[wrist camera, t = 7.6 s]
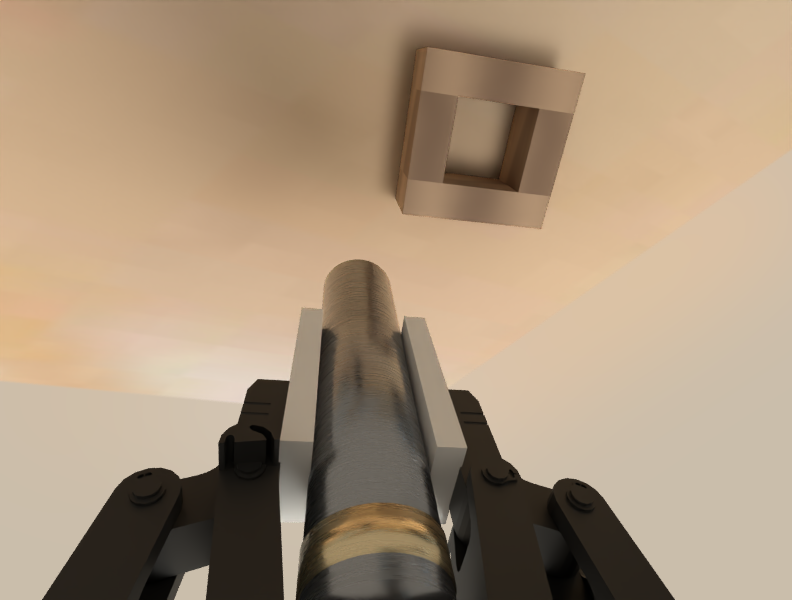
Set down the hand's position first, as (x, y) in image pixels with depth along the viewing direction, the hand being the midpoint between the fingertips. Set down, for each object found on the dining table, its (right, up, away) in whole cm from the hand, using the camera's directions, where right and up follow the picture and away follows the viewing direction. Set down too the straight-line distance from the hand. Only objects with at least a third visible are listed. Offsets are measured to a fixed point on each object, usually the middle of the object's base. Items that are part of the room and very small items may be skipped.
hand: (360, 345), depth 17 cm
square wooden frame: (+7, +13, +14) cm, 20 cm away
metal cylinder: (0, +2, +4) cm, 4 cm away
